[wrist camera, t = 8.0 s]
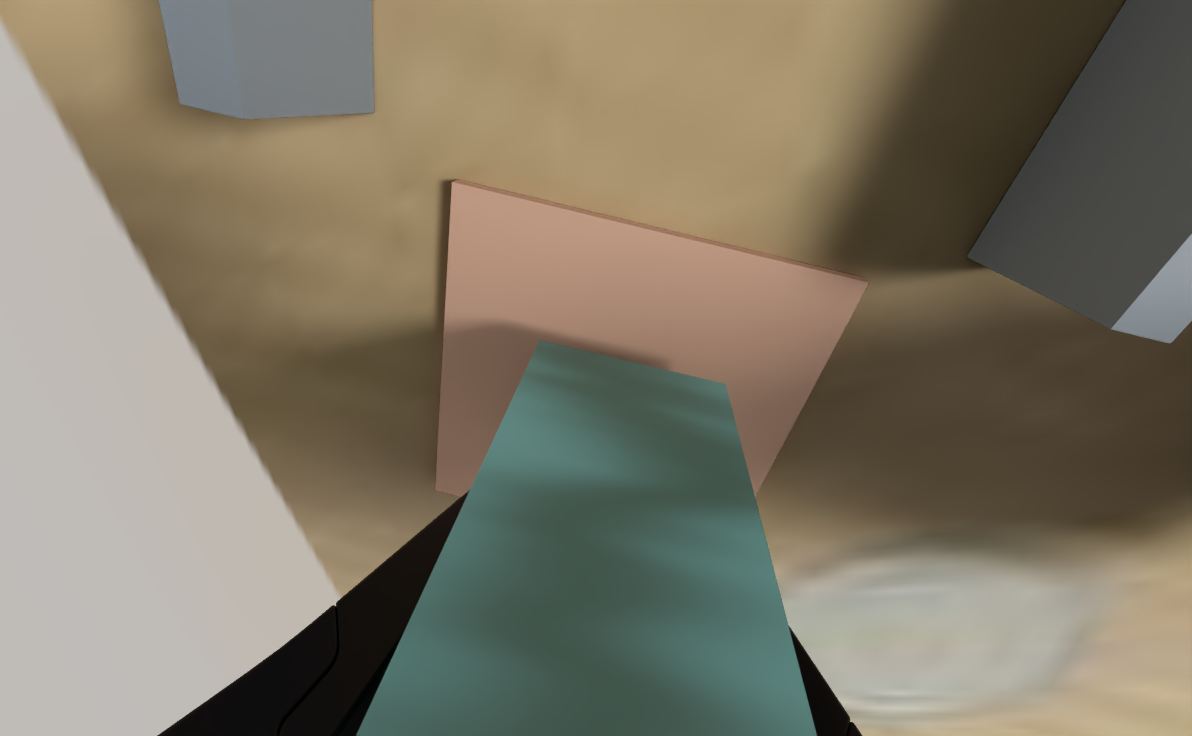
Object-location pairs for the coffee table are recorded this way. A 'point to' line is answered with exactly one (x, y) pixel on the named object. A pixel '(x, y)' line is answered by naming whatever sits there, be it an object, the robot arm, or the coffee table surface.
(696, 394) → the teal block
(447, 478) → the terracotta mat
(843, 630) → the coffee table surface
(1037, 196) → the open-front gray frame
